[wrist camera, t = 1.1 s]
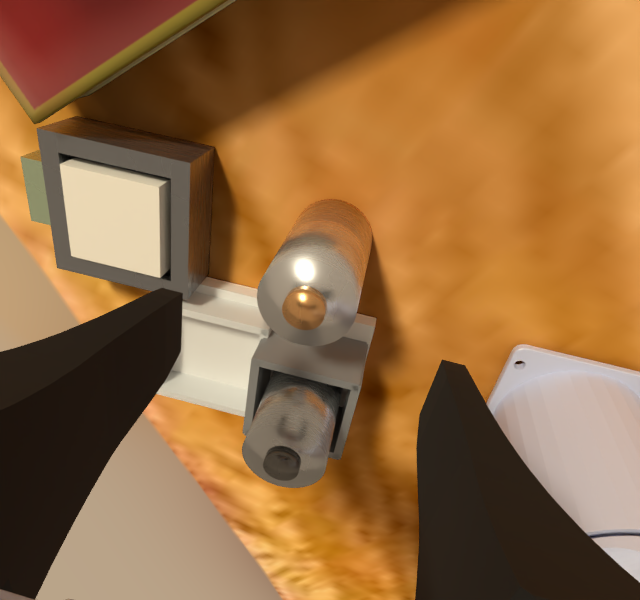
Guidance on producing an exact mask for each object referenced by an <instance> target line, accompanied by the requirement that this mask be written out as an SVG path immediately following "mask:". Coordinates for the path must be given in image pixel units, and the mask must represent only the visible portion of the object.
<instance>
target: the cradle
mask: <svg viewBox="0 0 640 600" xmlns="http://www.w3.org/2000/svg"><path fill="white" fill-rule="evenodd" d="M37 134H38V141H39V148H40V150H38V151H35V152H32V153H30V154H27V155H24V156H21V162H22V168H23V174H24V180H25V186H26V192H27V198H28V203H29V209H30V215H31V221H35V222H39V223H44V224H48V225H51V229H52V236H53V243H54V250H55V257H56V263H57V268H60V269H64V270H68V271H72V272H76V273H80V274H84V275H88V276H92V277H96V278H100V279H104V280H108V281H112V282H116V283H120V284H125V285H129V286H133V287H137V288H141V289H145V290H149V291H155V290H157V289H160V288H165V289H169V290H173V291H177V292H181V293H183V299H185V300H188V299H189V298H190V296H191V295H192V294H193V293H194V291H195V290H196V289H197V288H198V286H199V285H200V284H201V283H202V282H203V280H204V279H205V278H206V277H207V275H208V274H209V258H210V236H211V215H212V194H213V173H214V152H215V147H212V146H208V145H204V144H199V143H195V142H190V141H186V140H181V139H177V138H172V137H168V136H163V135H159V134H154V133H150V132H145V131H141V130H136V129H132V128H127V127H123V126H119V125H114V124H110V123H105V122H101V121H96V120H92V119H87V118H83V117H78V116H75V117H72V118H69V119H65V120H62V121H59V122H56V123H52V124H49V125H46V126H43V127H39V128H37ZM73 158H78V159H83V160H87V161H91V162H96V163H100V164H104V165H109V166H113V167H117V168H122V169H126V170H130V171H135V172H139V173H144V174H148V175H152V176H157V177H161V178H165V179H170V269H169V270H168V271H167V272H166V273H165V274H164V275H163V276H162V277H161V278H158V277H154V276H150V275H146V274H142V273H138V272H134V271H129V270H125V269H121V268H117V267H113V266H109V265H105V264H101V263H97V262H93V261H89V260H84V259H80V258H76V257H72V256H71V250H70V242H69V234H68V226H67V219H66V211H65V203H64V195H63V187H62V179H61V171H60V164H61V163H64V162H66V161H68V160H71V159H73Z"/></svg>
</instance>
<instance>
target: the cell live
mask: <svg viewBox="0 0 640 600" xmlns="http://www.w3.org/2000/svg"><path fill="white" fill-rule="evenodd" d="M371 246H372V230H371V227H370V224H369V222H368V220H367V218H366V217H365V216H364V214H363V213H362V212H361V211H360V210H359V209H358V208H356V207H355V206H353V205H352V204H350V203H347V202H345V201H341V200H336V199H326V200H321V201H318V202H315V203H313V204H311V205H310V206H308V207H307V208H306V209H305V210H304V211H303V212H302V213H301V215H300V216H299V218H298V219H297V221H296V223H295V224H294V226H293V228H292V229H291V231H290V233H289V234H288V236H287V238H286V239H285V241H284V243H283V244H282V246H281V248H280V249H279V251H278V253H277V254H276V256H275V258H274V259H273V261H272V263H271V264H270V266H269V268H268V269H267V271H266V273H265V274H264V276H263V278H262V279H261V281H260V284H259V286H258V291H257V303H258V308H259V311H260V313H261V315H262V317H263V319H264V321H265V322H266V323H267V325H268V326H269V327H270V328H271V329H272V330H273V331H274V332H275V333H276V334H278V335H279V336H281V337H282V338H284V339H286V340H288V341H290V342H293V343H296V344H299V345H305V346H321V345H326V344H330V343H332V342H335V341H337V340H338V339H340V338H341V337H343V336H344V335H345V334H346V333H347V332H348V331H349V330H350V328H351V327H352V325H353V323H354V321H355V318H356V314H357V309H358V305H359V300H360V296H361V291H362V287H363V282H364V278H365V273H366V269H367V264H368V260H369V255H370V251H371Z"/></svg>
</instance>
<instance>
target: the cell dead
mask: <svg viewBox="0 0 640 600" xmlns="http://www.w3.org/2000/svg"><path fill="white" fill-rule="evenodd" d="M342 389H343V388H341V387H337V386H333V385H329V384H325V383H321V382H317V381H314V380H310V379H306V378H302V377H298V376H294V375H290V374H286V373H282V372H278V371H273V373H272V375H271V378H270V380H269V383H268V385H267V388H266V390H265V392H264V395H263V397H262V400H261V402H260V404H259V407H258V409H257V412H256V414H255V416H254V419H253V421H252V424H251V426H250V429H249V431H248V433H247V436H246V438H245V441H244V443H243V447H242V454H243V458H244V460H245V462H246V464H247V465H248V467H249V468H250V469H251V470H252V471H253V472H254V473H255V474H256V475H257V476H259V477H260V478H262V479H263V480H265V481H267V482H270V483H272V484H275V485H278V486H282V487H288V488H300V487H305V486H309V485H312V484H314V483H315V482H317V481H318V480H320V478H321V477H322V476H323V474H324V472H325V470H326V465H327V460H328V456H329V451H330V446H331V441H332V437H333V432H334V427H335V422H336V418H337V413H338V408H339V404H340V399H341V394H342Z"/></svg>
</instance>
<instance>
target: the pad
mask: <svg viewBox="0 0 640 600" xmlns="http://www.w3.org/2000/svg"><path fill="white" fill-rule="evenodd" d="M60 171H61V179H62V187H63V195H64V203H65V211H66V219H67V226H68V234H69V242H70V250H71V256H72V257H76V258H80V259H84V260H89V261H93V262H97V263H101V264H105V265H109V266H113V267H117V268H121V269H125V270H129V271H134V272H138V273H142V274H146V275H150V276H154V277H158V278H161V277H162V276H163V275H164V274H165V273H166V272H167V271H168V270H169V269H170V179H165V178H161V177H157V176H152V175H148V174H144V173H139V172H135V171H130V170H126V169H122V168H117V167H113V166H109V165H104V164H100V163H96V162H91V161H87V160H83V159H78V158H73V159H71V160H68V161H66V162H64V163H61V164H60Z"/></svg>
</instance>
